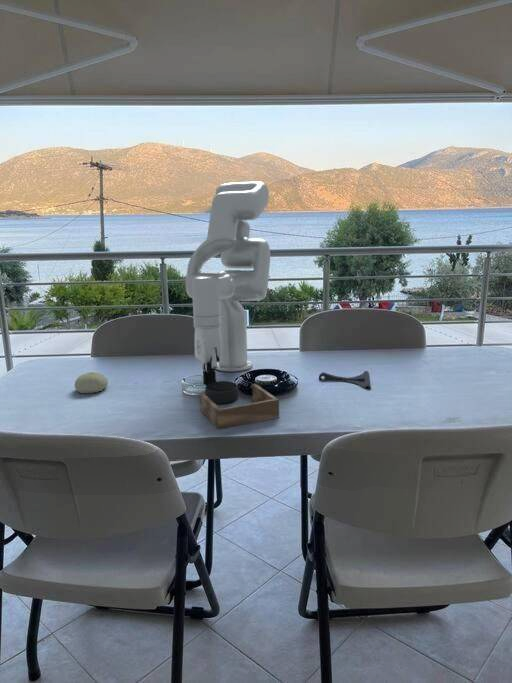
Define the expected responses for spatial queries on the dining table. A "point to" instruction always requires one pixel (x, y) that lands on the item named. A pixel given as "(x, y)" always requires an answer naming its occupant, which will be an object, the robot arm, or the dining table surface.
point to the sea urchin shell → (91, 382)
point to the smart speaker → (222, 392)
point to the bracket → (349, 379)
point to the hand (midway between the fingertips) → (209, 384)
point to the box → (241, 409)
